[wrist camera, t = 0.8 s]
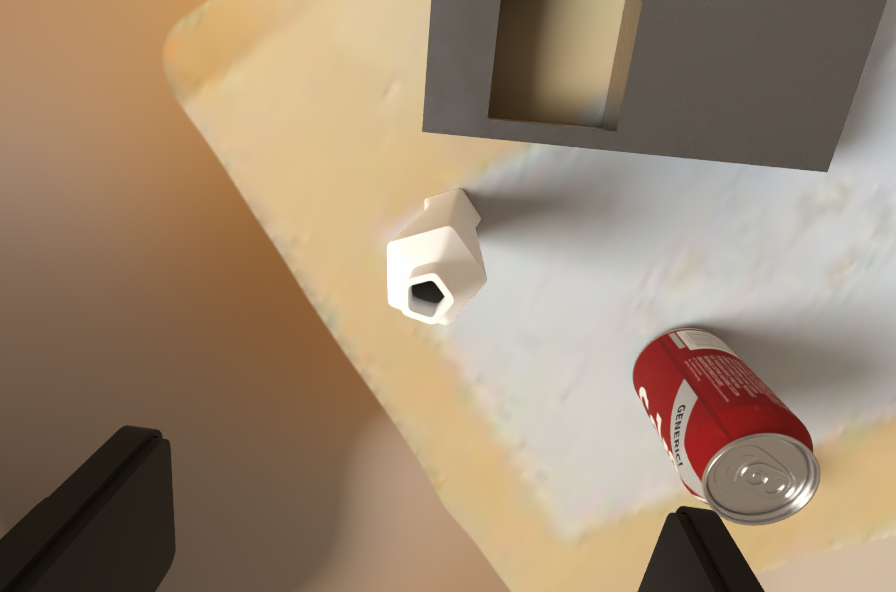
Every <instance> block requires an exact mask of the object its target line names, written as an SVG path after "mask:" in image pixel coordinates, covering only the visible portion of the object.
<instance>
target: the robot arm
mask: <svg viewBox="0 0 896 592" xmlns="http://www.w3.org/2000/svg"><path fill="white" fill-rule="evenodd" d="M170 449H171V448H170V442H169V441H168V440H167V439H163V438H162V434H161V432H160V431H159V430H156V429H150V428H142V427H136V426H129V425H127V426H123V427H122V428H120V429H119V430H118V431H117V432H116V433H115V434H114V435H113V436H112V437H111V438H110V439H109V440H108V441H107V442H105V443H104V444H103V445H102V446H101V447H100V448H99V449H98V450H97V451H96V452H95V453H94V454H93V455H92V456H91V457H90V458H89V459H88V460H87V461H86V462H85V463H84V464H83V465H82V466H80V467H79V468H78V469H77V470H76V471H75V472H74V473H73V474H72V475H71V476H70V477H69V478H68V479H67V480H66V481H65V482H64V483H63V484H62V485H61V486H60V487H58V488H57V489H56V490H55V492H53V493H52V494H51V495H50V496H49V497H47V498H45V499H44V500H43V501H41V502H40V503H39V504H37V505H36V506H35V507H34V508H33V509H32V510H31V511H30V512H29V513H28V514H27V515H26V516H25V517H24V518H23V519H21V521H19V522H18V523H17V524H16V525H15V526H14V527H13V528H12V529H11V530H10V531H9V532H8V533H7V534H6V535H5V536H4V537H3V538H1V539H0V592H155V591H156V589H157V588H158V586H159V585H160V583H161V581H162V580H163V578H164V577H165V575H166V573H167V572H168V570H169V568H170V566H171V564H172V562H173V558H174V554H175V528H174V508H173V489H172V471H171V470H172V468H171V450H170ZM638 592H764V590H763V588H762V587H761V585H760V583H759V582H758V580H757V578H756V576H755V575H754V573H753V571H752V570H751V568H750V567H749V565H748V563H747V562H746V560H745V558H744V557H743V555H742V553H741V552H740V550H739V548H738V547H737V545H736V543H735V542H734V540H733V538H732V537H731V535H730V533H729V532H728V530H727V528H726V527H725V525H724V523H723V522H722V520H721V518H720V517H719V516H718V514H717V513H716V512H714V511H713V510H707V509H701V508H694V507H687V506H681V507H679V508H678V509H677V511H676V513H670V514H669V515H668V516H667V518H666V521H665V523H664V526H663V528H662V531H661V533H660V536H659V539H658V541H657V544H656V546H655V549H654V551H653V554H652V556H651V559H650V562H649V564H648V567H647V569H646V572H645V574H644V577H643V580H642V582H641V585H640V587H639V590H638Z"/></svg>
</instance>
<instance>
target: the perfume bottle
mask: <svg viewBox="0 0 896 592" xmlns="http://www.w3.org/2000/svg"><path fill="white" fill-rule="evenodd" d="M480 221H481V217H480V215H479V214H478V212H477V211H476V209H475V208H474V206H473V205H472V203H471V202H470V200H469V199H468V197H467V196H466V194H465V193H464V191H463V190H462V189H455V190H451V191H448V192H444V193H441V194H437V195H434V196H431V197H428V198H426V199H425V210H424V211H423V212H422V213H421V214H420V215H419V216H418V217H417V218H416V219H415V220H414V221H413V222H411V223H410V224H409V225H408V226H407V227H406V228H405V229H404V230H403V231H402V232H401V233H400V234H398V235H397V236H396V237H395V238H394V239H393V240H392V241H391V242H390V243H389V244H388V246H387V272H388V302H389V304H390V305H391V306H393V307H395V308H398V309H401V310H402V312H403V314H404V315H406V316H408V317H411V318H414V319H417V320H420V321H423V322H425V323H428V324H436V323H437V322H438V323H441V324H444V325H448V324H450V323H452V322H453V320H454V319H455V318H456V317H457V316H458V314H459V313H460V312H461V311H462V310H463V309H464V307H465V306H466V305H467V304H468V303H469V302H470V300H471V299H472V298H473V297H474V296H475V295H476V293H477V292H478V291H479V290H480V289H481V288H482V286H483V285H484V284H485V283H486V281H487V276H486V272H485V268H484V263H483V259H482V254H481V250H480V246H479V241H478V237H477V233H476V228H475V227H476V226H477V225H478V224H479V222H480Z"/></svg>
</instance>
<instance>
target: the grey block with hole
mask: <svg viewBox="0 0 896 592" xmlns="http://www.w3.org/2000/svg"><path fill="white" fill-rule="evenodd" d="M886 1H887V0H625V5H624V11H623V16H622V21H621V27H620V32H619V37H618V43H617V48H616V53H615V59H614V64H613V69H612V75H611V80H610V85H609V91H608V96H607V101H606V106H605V112H604V117H603V122H602V128H598V127H587V126H577V125H567V124H557V123H547V122H537V121H526V120H516V119H506V118H496V117H488V109H489V101H490V92H491V83H492V74H493V65H494V56H495V47H496V38H497V29H498V20H499V11H500V2H501V0H431V13H430V27H429V41H428V56H427V70H426V84H425V99H424V113H423V127H422V132H430V133H440V134H450V135H460V136H470V137H480V138H490V139H500V140H510V141H520V142H530V143H540V144H550V145H560V146H570V147H580V148H590V149H600V150H610V151H620V152H630V153H640V154H650V155H660V156H670V157H680V158H690V159H700V160H710V161H720V162H730V163H740V164H750V165H760V166H770V167H780V168H790V169H800V170H810V171H821V172H828V169H829V166H830V163H831V160H832V157H833V154H834V151H835V148H836V146H837V143H838V140H839V137H840V134H841V131H842V128H843V125H844V122H845V120H846V117H847V114H848V111H849V108H850V105H851V102H852V99H853V96H854V94H855V91H856V88H857V85H858V82H859V79H860V76H861V73H862V70H863V68H864V65H865V62H866V59H867V56H868V53H869V50H870V47H871V44H872V42H873V39H874V36H875V33H876V30H877V27H878V24H879V21H880V18H881V16H882V13H883V10H884V7H885V4H886Z"/></svg>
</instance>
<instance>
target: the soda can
mask: <svg viewBox="0 0 896 592" xmlns="http://www.w3.org/2000/svg"><path fill="white" fill-rule="evenodd" d="M633 384H634V387H635V390H636V392H637V394H638V396H639V398H640V400H641V402H642V404H643V406H644V408H645V410H646V412H647V414H648V415H649V417H650V419H651V421H652V423H653V425H654V427H655V429H656V431H657V433H658V435H659V437H660V439H661V441H662V443H663V445H664V447H665V449H666V451H667V453H668V455H669V456H670V458H671V460H672V462H673V464H674V466H675V468H676V470H677V472H678V474H679V476H680V478H681V480H682V482H683V483H684V485H685V487H686V488H687V489H688V490H689V491H690V493H691V494H692V495H694V496H695V497H696V498H697V499H699V500H700V501H702V502H704V503H706V504H708V505H709V506H710V507H711V508H712V509H713V511H714V512H716V513H717V514H718V515H719V516H721V517H722V518H724V519H726V520H728V521H731V522H734V523H737V524H742V525H766V524H771V523H775V522H778V521H781V520H784V519H786V518H788V517H790V516H792V515H794V514H795V513H797V512H798V511H800V510H801V509H802V508H803V507H804V506H805V505H806V504H807V503H808V502H809V501H810V500H811V499H812V497H813V496H814V494H815V492H816V490H817V488H818V485H819V482H820V467H819V464H818V461H817V459H816V457H815V456H814V454H813V445H812V440H811V437H810V434H809V432H808V430H807V429H806V427H805V426H804V424H803V423H802V422H801V421H800V420H799V419H798V418H797V417H796V416H795V415H794V414H793V413H792V412H791V411H790V410H789V409H788V408H787V407H786V405H785V404H784V403H783V402H782V401H781V400H780V399H779V398H778V397H777V396H776V395H775V394H774V393H773V392H772V391H771V390H770V389H769V388H768V387H767V386H766V385H765V384H764V383H763V382H762V381H761V380H760V379H759V378H758V377H757V376H756V375H755V374H754V373H753V372H752V371H751V370H750V369H749V368H748V367H747V366H746V365H745V364H744V362H743V361H742V360H741V359H740V358H739V357H738V356H737V355H736V354H735V353H734V352H733V351H732V350H731V349H730V348H729V347H728V346H727V345H726V344H725V343H724V342H723V341H722V340H721V339H720V338H718V337H717V336H715V335H714V334H712V333H710V332H707V331H705V330H701V329H696V328H680V329H675V330H671V331H668V332H665V333H663V334H661V335H659V336H657V337H656V338H654V339H653V340H651V341H650V342H649V343H648V344H647V345H646V346H645V347H644V348H643V349H642V350H641V352H640V353H639V355H638V357H637V358H636V361H635V364H634V367H633Z"/></svg>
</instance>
